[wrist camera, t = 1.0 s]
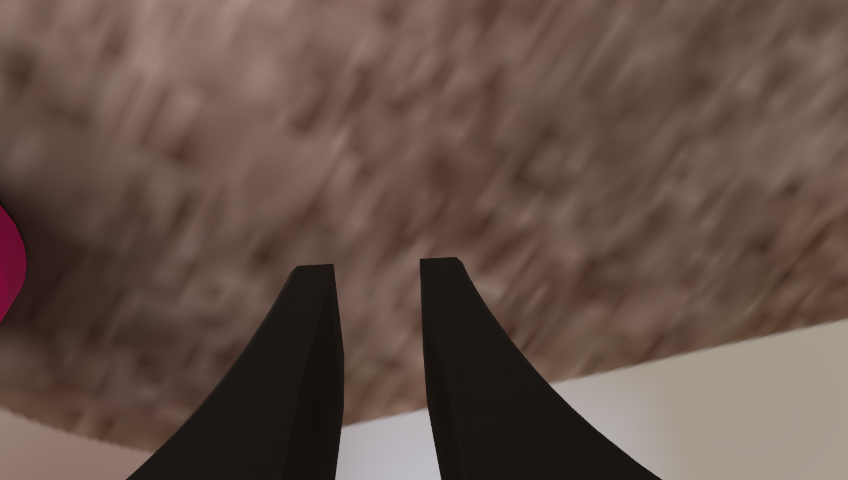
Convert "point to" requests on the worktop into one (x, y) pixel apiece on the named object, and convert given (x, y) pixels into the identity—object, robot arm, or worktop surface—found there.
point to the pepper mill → (10, 262)
